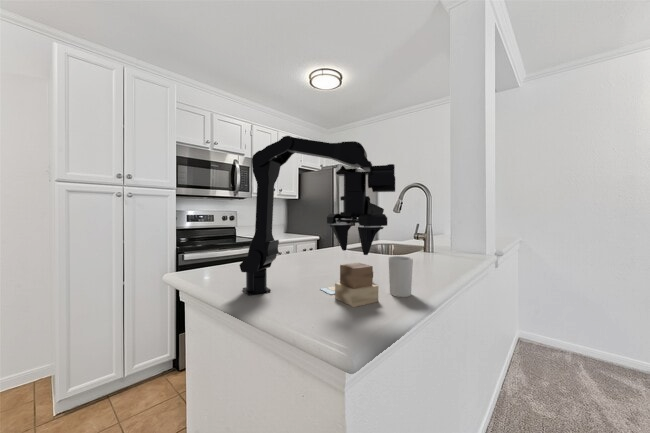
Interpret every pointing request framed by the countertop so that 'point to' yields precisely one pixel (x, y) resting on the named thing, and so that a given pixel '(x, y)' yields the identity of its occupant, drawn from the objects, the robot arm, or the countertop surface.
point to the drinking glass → (400, 275)
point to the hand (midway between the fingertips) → (354, 252)
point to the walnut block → (356, 275)
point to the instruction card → (329, 290)
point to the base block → (356, 294)
